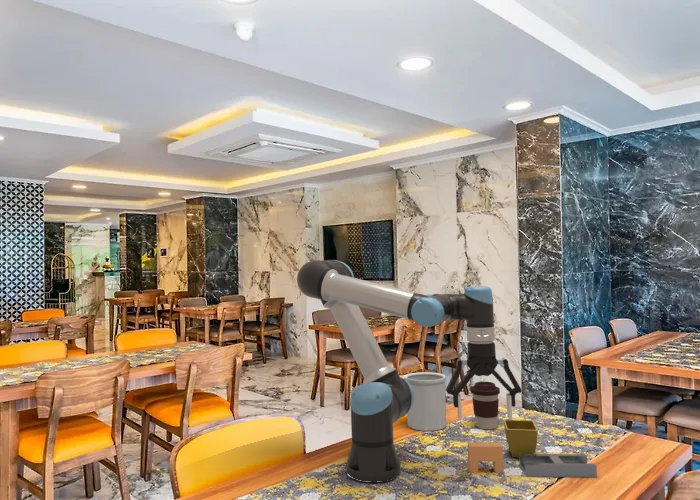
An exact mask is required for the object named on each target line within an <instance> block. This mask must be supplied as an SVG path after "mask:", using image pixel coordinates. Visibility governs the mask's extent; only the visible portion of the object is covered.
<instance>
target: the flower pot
mask: <svg viewBox="0 0 700 500" xmlns="http://www.w3.org/2000/svg"><path fill="white" fill-rule="evenodd" d="M503 424H504V425H503V426H504V434H505V440H506V443H507V445H508V448H509V451H510V453H511V455H512V457H513V458H519V454H536V450H537V446H538V445H537V444H538V434H539V433H538V432H539V431H538V430H539V429H538V427H537V425H536V423H535V421H534V420H528V419H527V420H524V419H523V420H522V419H512V420H509V419H504V420H503Z"/></svg>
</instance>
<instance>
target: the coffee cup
mask: <svg viewBox="0 0 700 500" xmlns="http://www.w3.org/2000/svg"><path fill="white" fill-rule="evenodd" d="M500 393H501V392H500V387H498V386H496V384H495V383H494V382H492V381H491V382H490V381H477V382H475V383H474V384H473V385H472V386H471V387H470V394H472V408H473V414H474V422H475V426H476V427H477V428H479V429H480V430H481V429H482V430H495V429H497V427H498V416H499V403H500V402H499V394H500Z"/></svg>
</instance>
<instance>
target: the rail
mask: <svg viewBox="0 0 700 500" xmlns="http://www.w3.org/2000/svg"><path fill="white" fill-rule="evenodd" d="M518 461H519V464H518V465H519V466H520V468H521V469H522V471H523V473H524V475H525V476H526V477H527V478H528V477H529V478H531V477H532V478H533V477H535V478H536V477H538V478H539V477H540V478H541V477H544V478H548V477H549V478H598V471H597V468H598V467H597V465H596V463H588V456H587V454H586V453H585V454H584V453H579V454H576V453H534V454H519V457H518Z"/></svg>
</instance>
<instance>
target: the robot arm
mask: <svg viewBox="0 0 700 500" xmlns="http://www.w3.org/2000/svg"><path fill="white" fill-rule="evenodd" d="M296 282H297V283H296V284H297V287H298V289H299V290H300V292H301V293H302V294H303V295H305V296H306V297H308V298H312V299H317V300H320V302H321V304H322V305H323V307H324V308H325V309H327V310H330V312H331V313H332V316H333V318H334V319H335V322H336V323H337V326H338V328H339V330H340V332H341V335H342V336H343V338H344V340H345V342H346V344H347V346H348V348H349V350H350V352H351V354H352V357H353V358H354V361H355V362H356V364H357V366H358V369H359V370H360V372H361V374H362V377H363V383H362V384H360V385H357V386H355V387H354V388H353V389H352V391H351V392H350V393H351V394H350V401H349V406H350V426H351V447H350V449H349V453H348V457H347V460H346V465H345V467H346V471H347V472H346V474H347V473H348V474H349V475H350V476H351V477H353V478H355V479H358V480H362V481H371V482H377V481H387V480H390V481H392V480H391V479H393V478H395V479H397V478H398V477H399V476H400V475H401V472H402V470H401V469H402V466H401V461H400V458H399V455H398V453H397V450H396V446H395V444H394V442H395V441H394V423H396V422H397V421H399V419H401V418H403V417H405V416H407V413H408V411H409V410H410V409H411V407H412V405H413V401H414V393H413V389H412V387H411V385H410V383H409V382H408V381H407V380H405V379H404V377H401V376H400V374H399V371H398V370H397V368H396V367H392V366H391V365H389V363H388V361H387V359H386V357H385V355H384V354H383V351H382V350H381V348H380V346H379V344H378V341H377V340H376V338H375V336H374V333H373V332H372V329H371V327H370V326H369V323H368V321H367V320H366V318H365V316H364V314H363V312H362V309H361V308H364V309H368V310H372V311H375V312H380V313H383V314H388V315H390V316H395V317H398V318H403V319H407V320H410V321H413V322H415V323H416V324H417V325H418V326H420V327H424V328H427V327H429V328H430V327H435V326H436V325H438V324H440V323H443V322H446V321H465V322H466V323H465V324H466V340H467V341H468V342H467V359H466V360H464V359H460V358H457V359H456V365H455V368H454V371H453V373H452V376H451V377H450V380H449V381H448V384H447V387H445V391H446V393H447V394H448V395H450V396H452V400H453V401H452V402H453V407H454V408H457V418H458V421H463V415H462V413H463V412H462V396H461V394H460V393H461V392H462V391H463V389H465V387H466V385H467V384H468V383H469V382H470V381H471V379H473V377H474V376H477V377H482V376H485V377H489V376H490V375H493V376H494V378H495V379H496V380H497V381H498V383H500V385H502V386H503V388H505V389H506V391H508V392H507V393H505V394H506V396H505V397H506V414H507V416H506V417H507V418H508V420H513V408H514V407H516V396H517V394H521V393H522V388H521V386H520V384H519V383H518V381H517V378H516V377H515V376H514V373H513V371H512V370H511V368H510V365H509V360H508V359H507V358H505V357H502V358H500V359H497V357H496V356H497V355H496V354H497V353H496V343H495V339H496V337H495V321H494V320H495V319H494V300H493V291H492V290H493V289H492V288H491V287H489V286H485V285H484V286H483V285H481V286H478V285H477V286H476V285H475V286H466V287H465V288H464V291H463V293H433V294H426V295H425V294H423V293H417V292H415V291H409V290H406V289H401V288H399V287H398V288H397V287H393V286H389V285H384V284H380V283H377V282H372V281H368V280H364V279H360V278H356V277H355V276H354V273H353V270H352V268H350V266H349V265H348V264H346V262H342V261H341V260H340V261H339V260H336V259H328V260H316V259H315V260H311V261H308V262H305V263H304V264H303V265H302V266H301V267H300V268H299V270H298V272H297V277H296ZM498 365H499V366H500V367H501V368H503V370H504V372H505V373H506V376H507V377H508V379H509V381H510V382H511V384H512V385H513V388H512V387H511V386H510V384H508V383H507V382H506V381H505V380H504V378H503V377H501V375H500V374H499V373H498V372H497V371H496V368H497V367H498ZM465 366H467V367H468V368H469V369H468V370H467V372H466V374H465V375H464V376H463V378H462V379H461V380H460V381H459V383H457V382H458V381H457V380H458V378H459V376H460V374H461V372H462V369H464V368H465ZM456 383H457V385H456ZM455 386H456V387H455ZM454 387H455V388H454ZM397 476H398V477H397ZM396 477H397V478H396ZM393 480H394V479H393ZM387 482H388V481H387Z"/></svg>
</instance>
